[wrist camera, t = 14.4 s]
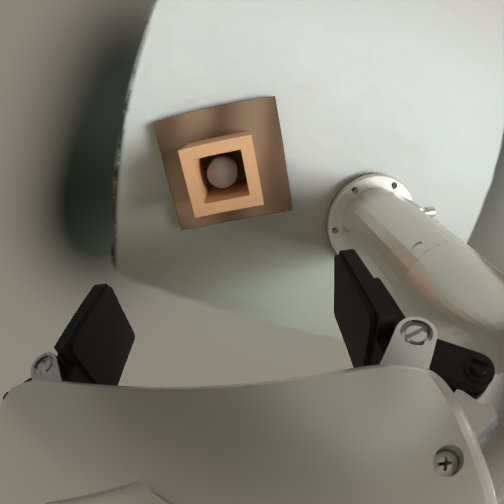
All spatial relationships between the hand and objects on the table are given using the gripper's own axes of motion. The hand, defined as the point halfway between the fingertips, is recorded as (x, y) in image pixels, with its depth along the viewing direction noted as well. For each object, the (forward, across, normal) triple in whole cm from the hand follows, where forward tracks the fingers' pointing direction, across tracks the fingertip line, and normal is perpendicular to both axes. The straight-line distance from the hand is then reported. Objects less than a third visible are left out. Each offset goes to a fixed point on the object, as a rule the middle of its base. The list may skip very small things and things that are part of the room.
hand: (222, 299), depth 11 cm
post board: (+23, +1, -2) cm, 23 cm away
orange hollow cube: (+21, +1, -2) cm, 21 cm away
